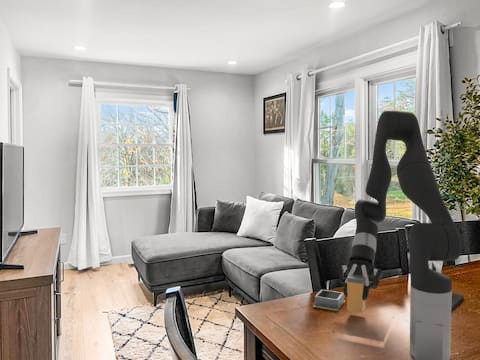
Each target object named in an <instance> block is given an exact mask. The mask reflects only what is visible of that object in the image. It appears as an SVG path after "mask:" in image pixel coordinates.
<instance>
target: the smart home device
mask: <svg viewBox="0 0 480 360" xmlns="http://www.w3.org/2000/svg"><path fill="white" fill-rule="evenodd" d="M463 300H464V295H463V294H459V293H455V292H452V302H451V312H452V311H453V310H454V309H455V308H456V307H457V306H458V305H459V304H460V303H461V302H462V301H463Z"/></svg>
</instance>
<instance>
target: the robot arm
mask: <svg viewBox="0 0 480 360" xmlns="http://www.w3.org/2000/svg"><path fill="white" fill-rule="evenodd" d="M388 141H398V142H399V141H400V142H403V143H404V146H405V151H404V153H403V154H402V156H401V158H400V160H399V162H398V163H397V166H396V175H397V179H398V184H399V187H400V190H401V192H402V193H403V194H404V196H406V198H407V199H409V201H411V202H412V203H413V204H414V205H415V206H416V207H418V208H419V209H420V210H421V211H422V212H424V214H425V215H426V216H427V217H428V219H429V220H430V222H420V223H418V222H417V223H413V224H412V225H411V227H410V229H409V234H408V250H409V275H410V300H409V301H410V303H409V305H410V306H409V307H410V308H409V311H410V312H409V353H410V355H411V356H412V357H413V358H414V360H451V347H452V345H451V341H452V338H451V337H452V335H451V334H452V311H451V302H452V293H453V292H452V291H453V281H452V279H451V277H449V276H448V275H447V274H444V273H442V272H441V273H439V272H436V271H434V270H431V269H430V268H429V262H428V261H443V262H449V261H450V262H451V261H456V260H458V259H459V258H460V256H461V255H462V250H463V249H462V241H461V237H460V233H459V230H458V228H457V225H456V224H455V222H454V220H453V218H452V215H451V214H450V211H449V209H448V207H447V205H446V203H445V201H444V199H443V196H442V194H441V191H440V189H439V185H438V181H437V180H436V176H435V173H434V170H433V168H432V164H431V163H430V161H429V158H428V155H427V152H426V148H425V146H424V143H423V142H424V141H423V137H422V133H421V129H420V124H419V120H418V117H417V116H416V115H415V113H413V112H410V111H403V110H393V109H385V110H384V111H382V112H381V114H380V116H379V118H378V120H377V124H376V131H375V138H374V146H373V153H372V161H371V168H370V172H369V175H368V179H367V183H366V186H365V193H366V194H367V196H368V197H369V198H372V199H374V200H371V199H368V198H367V199H366V198H360V199H358V200H357V201H356V203H355V205H354V215H355V222H356V223H355V224H356V226H355V232H354V233H355V234H354V237H353V240H352V243H351V244H352V245H351V249H350V255H349V259H348V262H347V263H346V264H345V265H342V264H341V263H339V264H338V265H337V268H338V276H339V281H340V284H341V285H344V287H343V292H342V293H344V298H346V299H347V295H348V293H347V278H348V277H349V275H353V274H354V275H362V276H365V286H364V290H363V295H362V299H363V300H364V301H365V302H366V300H368V298H369V294H370V290H372V289H373V290H376V289H377V287H378V285H379V283H380V282H381V279H382V277H383V276H384V275H383V270H382V269H381V268H378V269H377V268H375V267H374V264H375V257H376V253H377V239H378V233H379V227H378V225H377V224H376V223H382V222H383V221H384V220H385V218H386V216H387V194H388V192H389V188H390V184H391V183H392V182H391V181H392V175H393V174H392V169H391V168H392V167H391V165H390V161H389V159H388V156H387V151H386V150H387V149H386V148H387V143H388ZM346 270H347V271H348V274H347V277H346V278H345V274H344V273H346ZM372 274H374V277H373V278H372V281H371V282H369V277H370V276H371V275H372Z"/></svg>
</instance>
